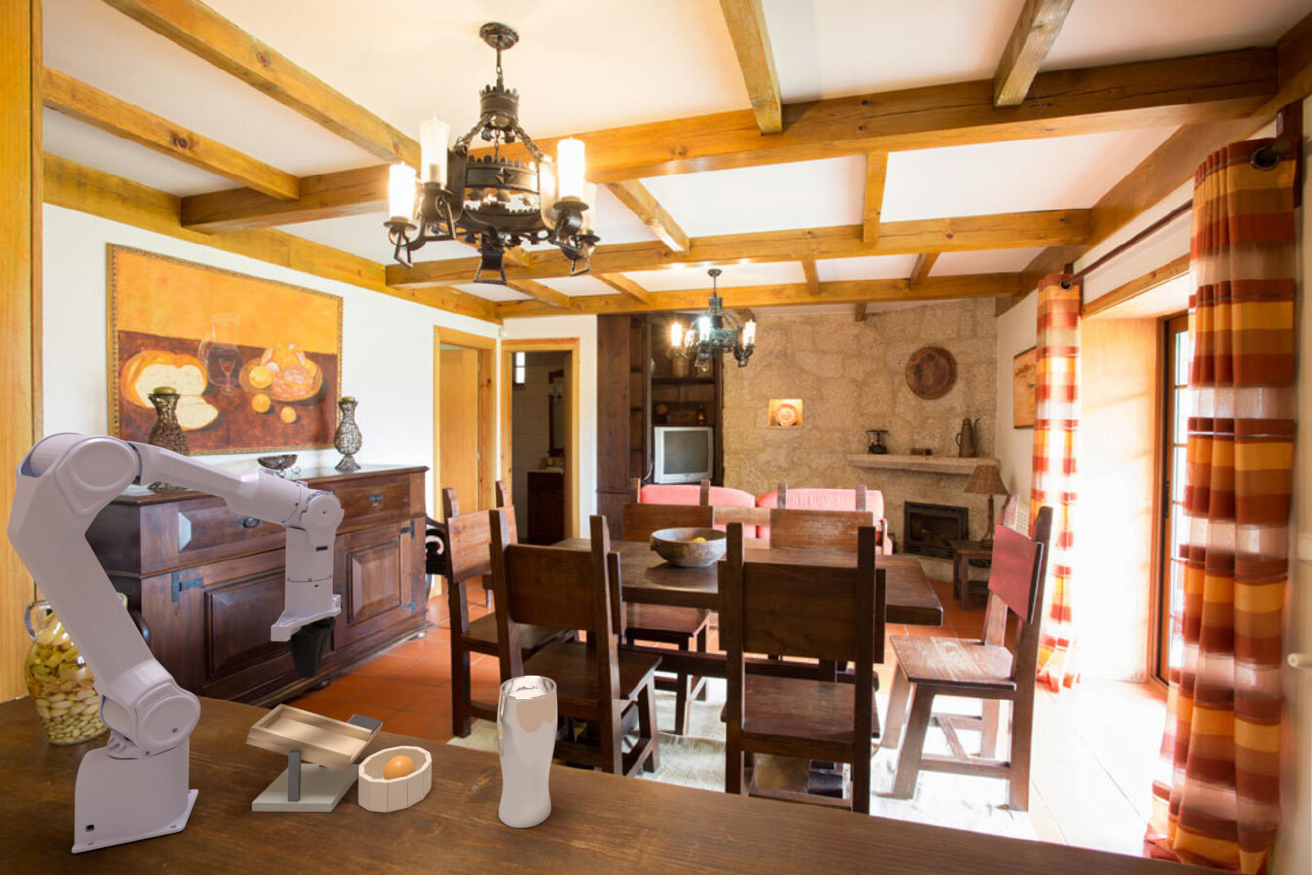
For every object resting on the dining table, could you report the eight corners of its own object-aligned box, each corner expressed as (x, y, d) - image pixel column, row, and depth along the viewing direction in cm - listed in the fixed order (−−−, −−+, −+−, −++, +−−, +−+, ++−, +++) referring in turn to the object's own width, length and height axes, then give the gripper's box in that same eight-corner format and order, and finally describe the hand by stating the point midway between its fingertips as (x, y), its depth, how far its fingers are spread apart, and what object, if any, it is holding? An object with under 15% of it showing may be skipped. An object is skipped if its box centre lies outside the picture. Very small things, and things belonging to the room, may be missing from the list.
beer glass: (548, 832, 71) (552, 700, 70) (487, 829, 71) (490, 697, 71) (559, 795, 78) (562, 675, 77) (503, 793, 78) (506, 673, 78)
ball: (381, 770, 75) (402, 792, 75) (404, 745, 78) (424, 766, 78) (373, 776, 77) (393, 797, 77) (396, 752, 80) (415, 773, 80)
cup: (358, 818, 72) (359, 788, 72) (357, 781, 80) (358, 753, 79) (434, 801, 76) (434, 773, 76) (426, 767, 83) (427, 741, 83)
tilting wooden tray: (245, 743, 74) (250, 727, 74) (294, 703, 84) (298, 689, 84) (345, 771, 74) (350, 755, 74) (381, 728, 85) (385, 714, 85)
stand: (251, 811, 73) (253, 753, 73) (291, 771, 81) (292, 719, 81) (330, 811, 73) (332, 754, 73) (362, 771, 82) (363, 720, 82)
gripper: (312, 591, 79) (310, 699, 79) (362, 565, 93) (360, 656, 93) (254, 590, 78) (252, 698, 79) (313, 564, 93) (312, 655, 93)
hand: (307, 675), depth 86 cm, fingers closed
